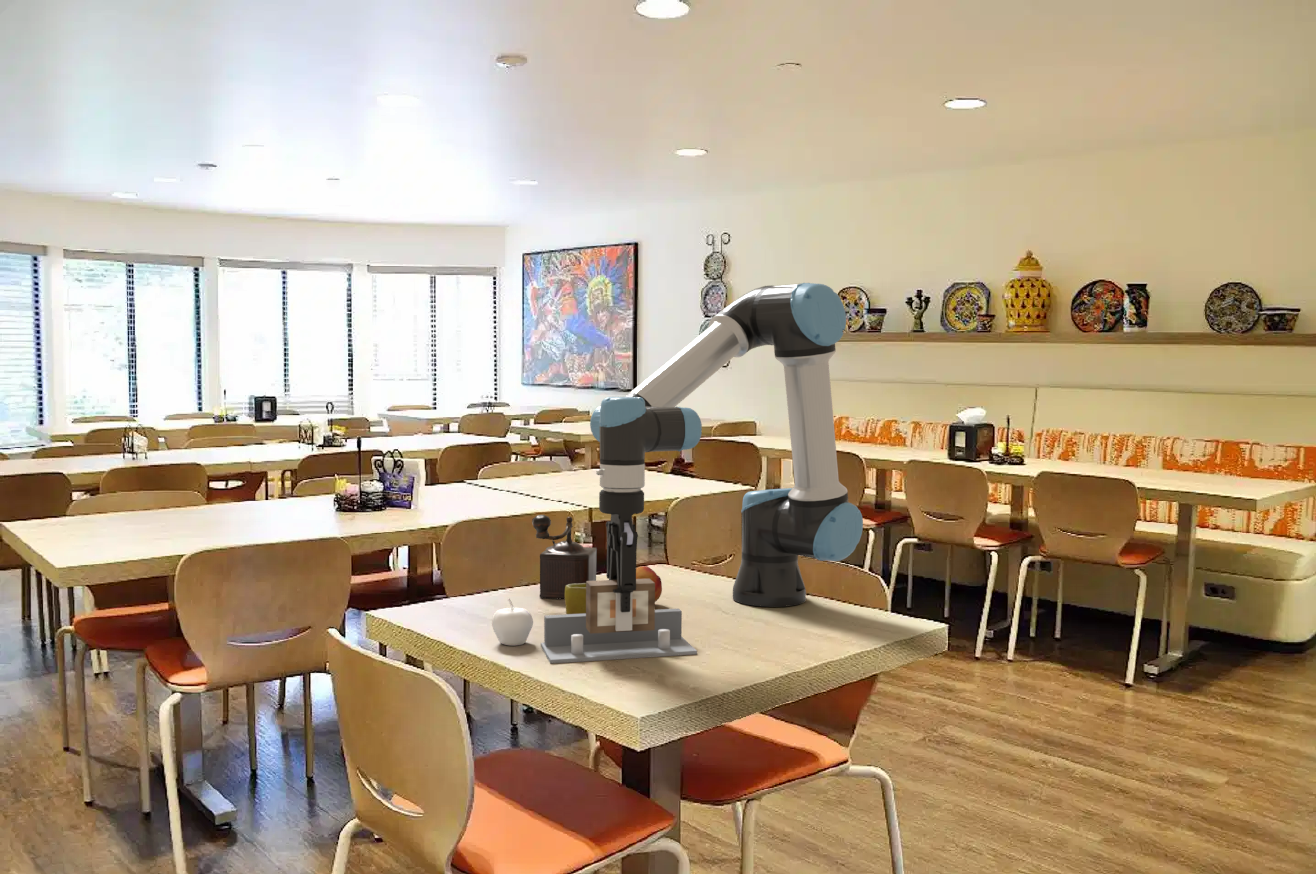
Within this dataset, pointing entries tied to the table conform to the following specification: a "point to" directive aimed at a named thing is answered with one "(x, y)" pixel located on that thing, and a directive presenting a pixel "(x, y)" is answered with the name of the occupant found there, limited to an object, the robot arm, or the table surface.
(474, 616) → the table surface
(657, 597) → the fruit
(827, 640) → the table surface
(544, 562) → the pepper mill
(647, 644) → the ledge
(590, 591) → the picture block
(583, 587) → the mug
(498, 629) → the plain white apple
